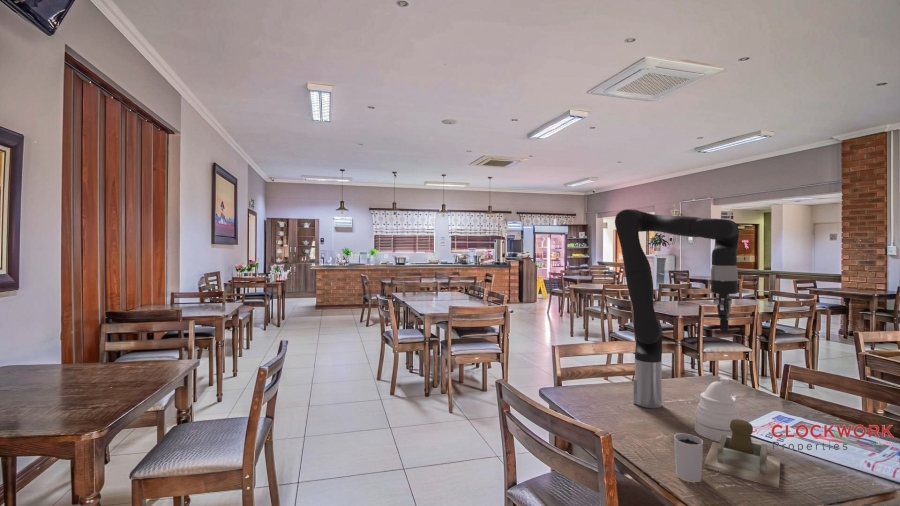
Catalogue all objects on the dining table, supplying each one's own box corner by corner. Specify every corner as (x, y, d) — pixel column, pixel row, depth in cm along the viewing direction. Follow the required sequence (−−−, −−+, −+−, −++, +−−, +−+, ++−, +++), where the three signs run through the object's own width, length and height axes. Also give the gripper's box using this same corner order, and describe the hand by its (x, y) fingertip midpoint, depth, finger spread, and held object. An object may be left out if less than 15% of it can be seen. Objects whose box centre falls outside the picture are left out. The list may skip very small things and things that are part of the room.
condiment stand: (704, 467, 114) (704, 448, 114) (712, 445, 126) (712, 428, 126) (778, 488, 104) (778, 467, 103) (780, 462, 116) (780, 443, 116)
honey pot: (734, 427, 139) (734, 373, 138) (748, 445, 126) (748, 385, 126) (690, 422, 143) (690, 370, 143) (699, 439, 131) (699, 381, 130)
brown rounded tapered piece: (759, 467, 111) (759, 426, 111) (734, 465, 112) (734, 424, 112) (748, 456, 117) (748, 417, 117) (724, 454, 118) (724, 415, 118)
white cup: (668, 471, 112) (668, 433, 112) (692, 469, 113) (692, 432, 113) (684, 485, 105) (684, 445, 105) (709, 483, 106) (709, 444, 106)
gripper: (713, 277, 147) (713, 326, 147) (707, 279, 137) (708, 332, 137) (739, 278, 142) (739, 328, 143) (735, 280, 132) (735, 335, 132)
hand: (724, 330), depth 140 cm, fingers closed
